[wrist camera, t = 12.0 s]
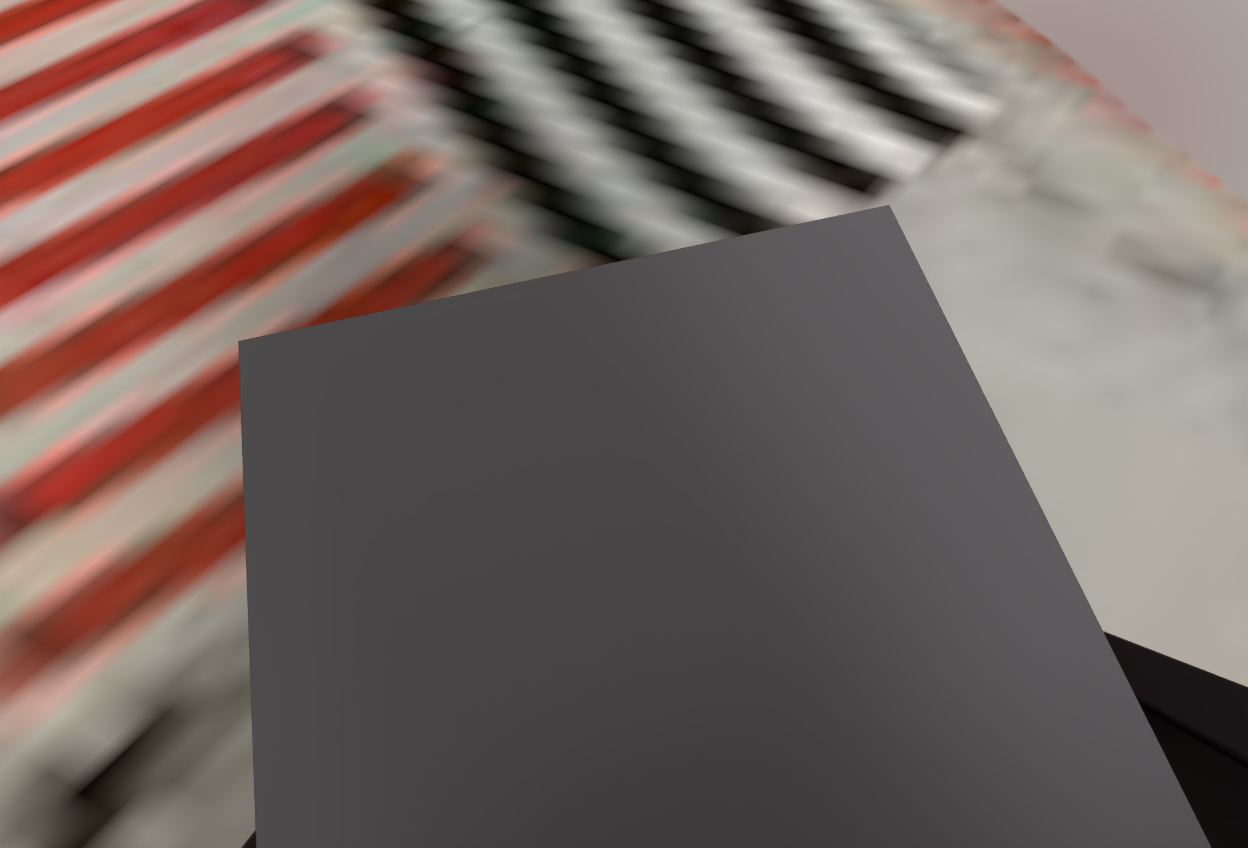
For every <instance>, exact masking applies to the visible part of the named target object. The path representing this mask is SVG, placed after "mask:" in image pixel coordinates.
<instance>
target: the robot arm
mask: <svg viewBox="0 0 1248 848" xmlns="http://www.w3.org/2000/svg"><path fill="white" fill-rule="evenodd" d="M1103 632H1104V631H1103ZM1104 634H1105V636H1106V638H1107V640H1108V642H1109V644H1110V646H1111V648H1112V650H1113V652H1114V654H1115V656H1116V658H1117V660H1118V662H1119V664H1120V666H1121V668H1122V670H1123V672H1124V674H1125V676H1126V678H1127V680H1128V682H1129V684H1130V686H1131V688H1132V690H1133V692H1134V694H1135V696H1136V698H1137V700H1138V702H1139V704H1140V706H1141V708H1142V710H1143V712H1144V714H1145V716H1146V718H1147V720H1148V722H1149V724H1150V726H1151V728H1152V730H1153V732H1154V734H1155V736H1156V738H1157V740H1158V742H1159V744H1160V746H1161V748H1162V750H1163V752H1164V754H1165V756H1166V758H1167V760H1168V762H1169V764H1170V766H1171V768H1172V770H1173V772H1174V774H1175V776H1176V778H1177V780H1178V782H1179V784H1180V786H1181V788H1182V790H1183V792H1184V794H1185V796H1186V798H1187V800H1188V802H1189V804H1190V806H1191V808H1192V810H1193V812H1194V814H1195V816H1196V818H1197V820H1198V822H1199V824H1200V826H1201V828H1202V830H1203V832H1204V834H1205V836H1206V838H1207V840H1208V842H1209V844H1210V846H1211V848H1248V687H1246V686H1243V685H1241V684H1238V683H1236V682H1233V681H1231V680H1228V679H1225V678H1223V677H1220V676H1218V675H1215V674H1212V673H1210V672H1207V671H1205V670H1202V669H1200V668H1197V667H1194V666H1192V665H1189V664H1187V663H1184V662H1182V661H1179V660H1176V659H1174V658H1171V657H1169V656H1166V655H1163V654H1161V653H1158V652H1156V651H1153V650H1151V649H1148V648H1145V647H1143V646H1140V645H1138V644H1135V643H1133V642H1130V641H1127V640H1125V639H1122V638H1120V637H1117V636H1114V635H1112V634H1109V633H1107V632H1104ZM242 848H256V830H255V831H254V832H253V834H252V835H251V836H250V838H249V839H248V840H247V841H246V843H245V844H244V845H243V847H242Z"/></svg>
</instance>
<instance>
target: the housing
mask: <svg viewBox="0 0 1248 848" xmlns="http://www.w3.org/2000/svg"><path fill="white" fill-rule="evenodd" d="M238 343H239V371H240V399H241V428H242V456H243V484H244V512H245V541H246V569H247V597H248V625H249V654H250V682H251V710H252V738H253V767H254V795H255V823H256V848H1211V846H1210V844H1209V842H1208V840H1207V838H1206V836H1205V834H1204V832H1203V830H1202V828H1201V826H1200V824H1199V822H1198V820H1197V818H1196V816H1195V814H1194V812H1193V810H1192V808H1191V806H1190V804H1189V802H1188V800H1187V798H1186V796H1185V794H1184V792H1183V790H1182V788H1181V786H1180V784H1179V782H1178V780H1177V778H1176V776H1175V774H1174V772H1173V770H1172V768H1171V766H1170V764H1169V762H1168V760H1167V758H1166V756H1165V754H1164V752H1163V750H1162V748H1161V746H1160V744H1159V742H1158V740H1157V738H1156V736H1155V734H1154V732H1153V730H1152V728H1151V726H1150V724H1149V722H1148V720H1147V718H1146V716H1145V714H1144V712H1143V710H1142V708H1141V706H1140V704H1139V702H1138V700H1137V698H1136V696H1135V694H1134V692H1133V690H1132V688H1131V686H1130V684H1129V682H1128V680H1127V678H1126V676H1125V674H1124V672H1123V670H1122V668H1121V666H1120V664H1119V662H1118V660H1117V658H1116V656H1115V654H1114V652H1113V650H1112V648H1111V646H1110V644H1109V642H1108V640H1107V638H1106V636H1105V634H1104V632H1103V630H1102V628H1101V626H1100V624H1099V622H1098V620H1097V619H1096V617H1095V615H1094V613H1093V611H1092V609H1091V607H1090V605H1089V603H1088V601H1087V599H1086V597H1085V595H1084V593H1083V591H1082V589H1081V587H1080V585H1079V583H1078V581H1077V579H1076V577H1075V575H1074V573H1073V571H1072V569H1071V567H1070V565H1069V563H1068V561H1067V559H1066V557H1065V555H1064V553H1063V551H1062V549H1061V547H1060V545H1059V543H1058V541H1057V539H1056V537H1055V535H1054V533H1053V531H1052V529H1051V527H1050V525H1049V523H1048V521H1047V519H1046V517H1045V515H1044V513H1043V511H1042V509H1041V507H1040V505H1039V503H1038V501H1037V499H1036V497H1035V495H1034V493H1033V491H1032V489H1031V487H1030V485H1029V483H1028V481H1027V479H1026V477H1025V475H1024V473H1023V471H1022V469H1021V467H1020V465H1019V463H1018V461H1017V459H1016V457H1015V455H1014V453H1013V451H1012V449H1011V447H1010V445H1009V443H1008V441H1007V439H1006V437H1005V435H1004V433H1003V431H1002V429H1001V427H1000V425H999V423H998V421H997V419H996V417H995V415H994V413H993V411H992V409H991V407H990V405H989V403H988V401H987V399H986V397H985V395H984V393H983V391H982V389H981V387H980V385H979V383H978V381H977V379H976V377H975V375H974V373H973V371H972V369H971V367H970V365H969V363H968V361H967V359H966V357H965V355H964V353H963V351H962V349H961V347H960V345H959V343H958V341H957V339H956V337H955V335H954V333H953V331H952V329H951V327H950V325H949V323H948V321H947V319H946V317H945V315H944V313H943V311H942V309H941V307H940V305H939V303H938V301H937V299H936V297H935V295H934V293H933V291H932V289H931V287H930V285H929V283H928V281H927V279H926V277H925V275H924V273H923V271H922V269H921V267H920V265H919V263H918V261H917V259H916V257H915V255H914V253H913V251H912V249H911V247H910V245H909V243H908V241H907V239H906V237H905V235H904V234H903V232H902V230H901V228H900V226H899V224H898V222H897V220H896V218H895V216H894V214H893V212H892V210H891V208H890V206H889V205H887V206H882V207H877V208H872V209H868V210H863V211H858V212H853V213H849V214H844V215H839V216H834V217H829V218H825V219H820V220H815V221H810V222H806V223H801V224H796V225H791V226H786V227H782V228H777V229H772V230H767V231H763V232H758V233H753V234H748V235H743V236H739V237H734V238H729V239H724V240H720V241H715V242H710V243H705V244H701V245H696V246H691V247H686V248H681V249H677V250H672V251H667V252H662V253H658V254H653V255H648V256H643V257H638V258H634V259H629V260H624V261H619V262H615V263H610V264H605V265H600V266H595V267H591V268H586V269H581V270H576V271H572V272H567V273H562V274H557V275H552V276H548V277H543V278H538V279H533V280H529V281H524V282H519V283H514V284H509V285H505V286H500V287H495V288H490V289H486V290H481V291H476V292H471V293H466V294H462V295H457V296H452V297H447V298H443V299H438V300H433V301H428V302H423V303H419V304H414V305H409V306H404V307H400V308H395V309H390V310H385V311H380V312H376V313H371V314H366V315H361V316H357V317H352V318H347V319H342V320H337V321H333V322H328V323H323V324H318V325H314V326H309V327H304V328H299V329H294V330H290V331H285V332H280V333H275V334H271V335H266V336H261V337H256V338H251V339H247V340H242V341H238Z"/></svg>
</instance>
